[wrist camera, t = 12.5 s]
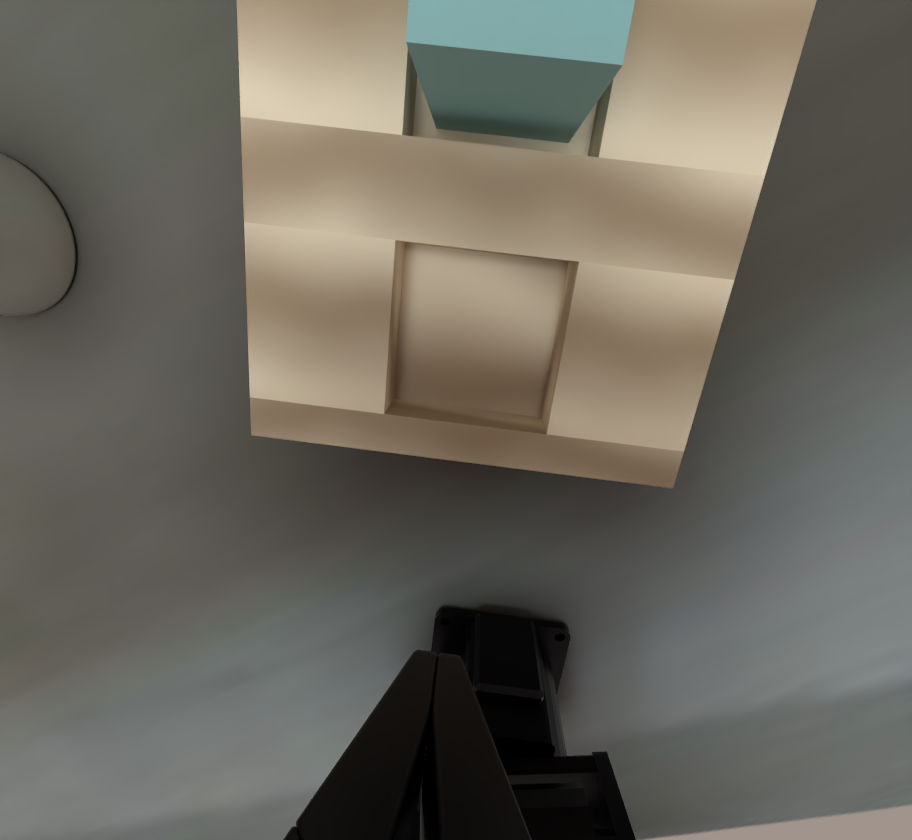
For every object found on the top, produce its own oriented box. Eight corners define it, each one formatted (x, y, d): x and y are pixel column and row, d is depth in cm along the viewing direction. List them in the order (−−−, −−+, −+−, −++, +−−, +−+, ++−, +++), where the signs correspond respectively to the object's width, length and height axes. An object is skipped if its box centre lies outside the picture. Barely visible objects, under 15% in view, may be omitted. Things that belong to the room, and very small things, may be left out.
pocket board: (650, 461, 20) (673, 488, 17) (278, 414, 20) (251, 435, 18) (798, -87, 14) (863, -159, 12) (272, -141, 14) (229, -223, 12)
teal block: (568, 143, 16) (622, 64, 10) (436, 128, 16) (405, 41, 10) (595, -23, 14) (680, -241, 8) (450, -38, 14) (424, -266, 8)
